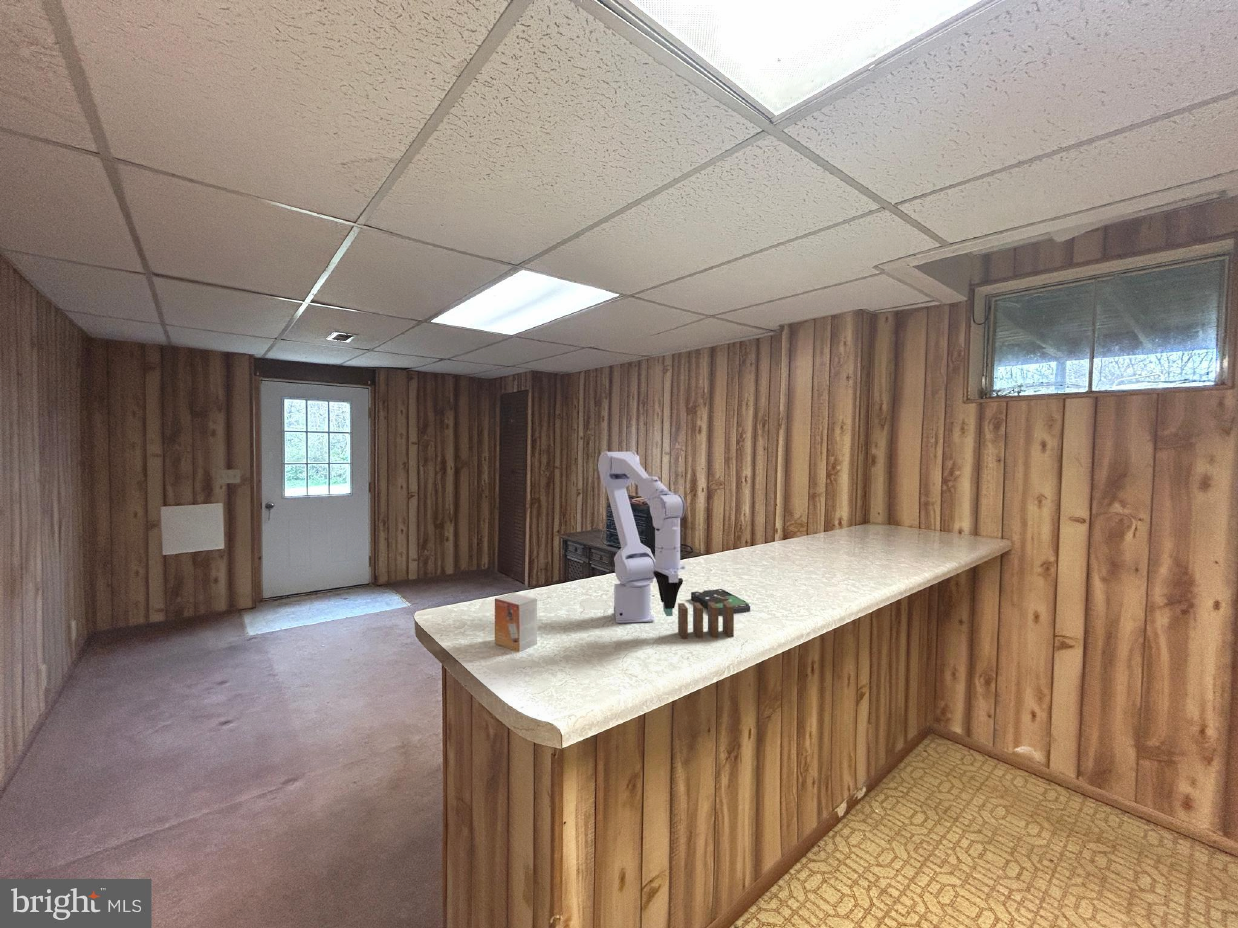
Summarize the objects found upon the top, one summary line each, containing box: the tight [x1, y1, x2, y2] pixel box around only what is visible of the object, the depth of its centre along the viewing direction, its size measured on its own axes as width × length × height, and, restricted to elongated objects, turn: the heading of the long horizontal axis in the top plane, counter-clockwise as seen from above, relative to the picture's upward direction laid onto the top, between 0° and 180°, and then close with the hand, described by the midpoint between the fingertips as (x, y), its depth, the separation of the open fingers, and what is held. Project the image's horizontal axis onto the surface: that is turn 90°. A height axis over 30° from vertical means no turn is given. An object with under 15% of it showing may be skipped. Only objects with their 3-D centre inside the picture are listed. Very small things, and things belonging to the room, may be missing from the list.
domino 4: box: [722, 602, 735, 638], centre depth 117 cm, size 1×4×7 cm, turn 5°
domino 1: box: [677, 602, 689, 640], centre depth 116 cm, size 1×4×7 cm, turn 5°
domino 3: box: [707, 602, 720, 639], centre depth 116 cm, size 1×4×7 cm, turn 5°
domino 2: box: [692, 602, 704, 639], centre depth 116 cm, size 1×4×7 cm, turn 5°
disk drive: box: [690, 588, 751, 617], centre depth 137 cm, size 10×3×15 cm
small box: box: [494, 592, 538, 653], centre depth 111 cm, size 8×6×10 cm
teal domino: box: [662, 602, 674, 617], centre depth 115 cm, size 1×4×7 cm, turn 5°
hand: (667, 604), depth 115 cm, fingers closed on teal domino, 4 cm apart
